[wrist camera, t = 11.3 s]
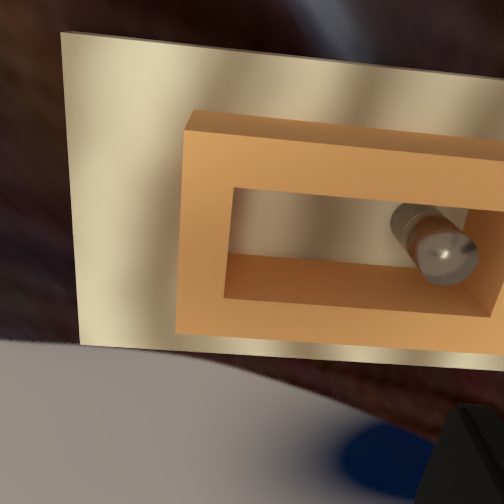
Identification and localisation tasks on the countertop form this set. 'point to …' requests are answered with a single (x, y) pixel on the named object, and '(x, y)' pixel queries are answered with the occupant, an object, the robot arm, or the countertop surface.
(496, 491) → the robot arm
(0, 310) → the countertop surface
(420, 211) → the round metal post
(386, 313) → the orange rectangular frame
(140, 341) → the backing board
